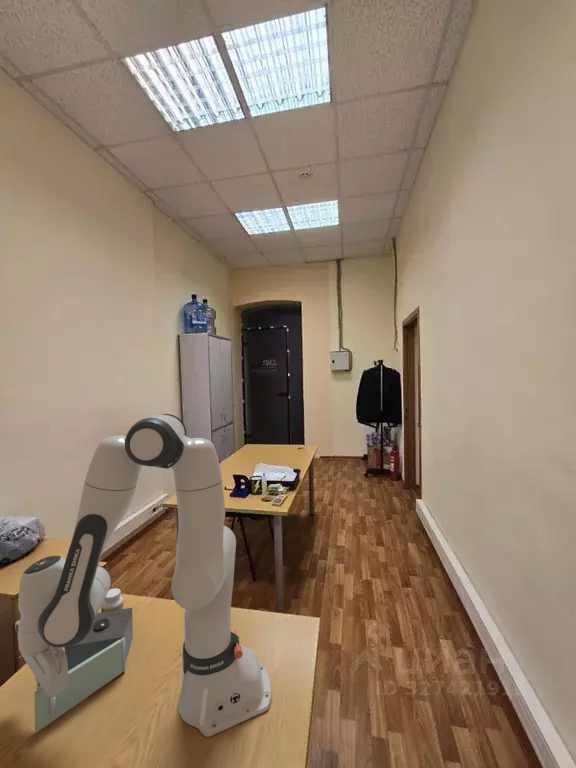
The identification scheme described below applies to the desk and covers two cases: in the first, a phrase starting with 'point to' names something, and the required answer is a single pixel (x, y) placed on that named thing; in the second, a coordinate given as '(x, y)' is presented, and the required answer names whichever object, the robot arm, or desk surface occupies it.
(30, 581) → the robot arm
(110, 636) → the cabinet box
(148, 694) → the desk surface
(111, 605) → the pill bottle
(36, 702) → the side door
